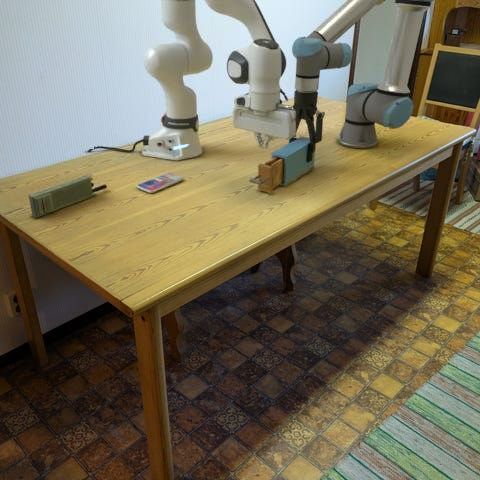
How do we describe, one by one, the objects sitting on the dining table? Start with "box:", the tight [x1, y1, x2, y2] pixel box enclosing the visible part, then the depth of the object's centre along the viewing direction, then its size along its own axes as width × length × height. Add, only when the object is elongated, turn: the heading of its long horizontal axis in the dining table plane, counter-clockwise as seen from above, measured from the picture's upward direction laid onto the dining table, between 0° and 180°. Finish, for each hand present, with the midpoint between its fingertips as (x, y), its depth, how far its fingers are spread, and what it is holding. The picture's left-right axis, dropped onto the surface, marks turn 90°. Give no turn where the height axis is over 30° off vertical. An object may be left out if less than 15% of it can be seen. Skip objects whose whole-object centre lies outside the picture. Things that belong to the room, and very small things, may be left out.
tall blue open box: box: [270, 135, 316, 187], centre depth 169 cm, size 19×6×10 cm, turn 144°
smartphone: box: [136, 172, 184, 194], centre depth 164 cm, size 7×1×15 cm
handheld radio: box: [28, 173, 108, 219], centre depth 150 cm, size 7×3×25 cm
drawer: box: [249, 157, 284, 194], centre depth 161 cm, size 23×4×8 cm, turn 144°
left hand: (262, 147), depth 151 cm, fingers closed
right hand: (301, 158), depth 173 cm, fingers closed on tall blue open box, 6 cm apart
